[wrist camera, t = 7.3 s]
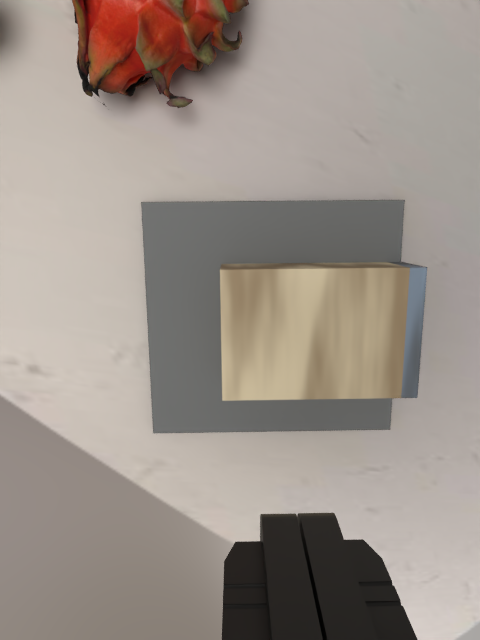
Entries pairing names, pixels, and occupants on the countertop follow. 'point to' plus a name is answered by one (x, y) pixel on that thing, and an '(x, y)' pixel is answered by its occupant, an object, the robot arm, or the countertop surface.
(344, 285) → the maple block
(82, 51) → the dragon fruit
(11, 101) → the countertop surface
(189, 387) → the rubber mat
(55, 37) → the countertop surface
